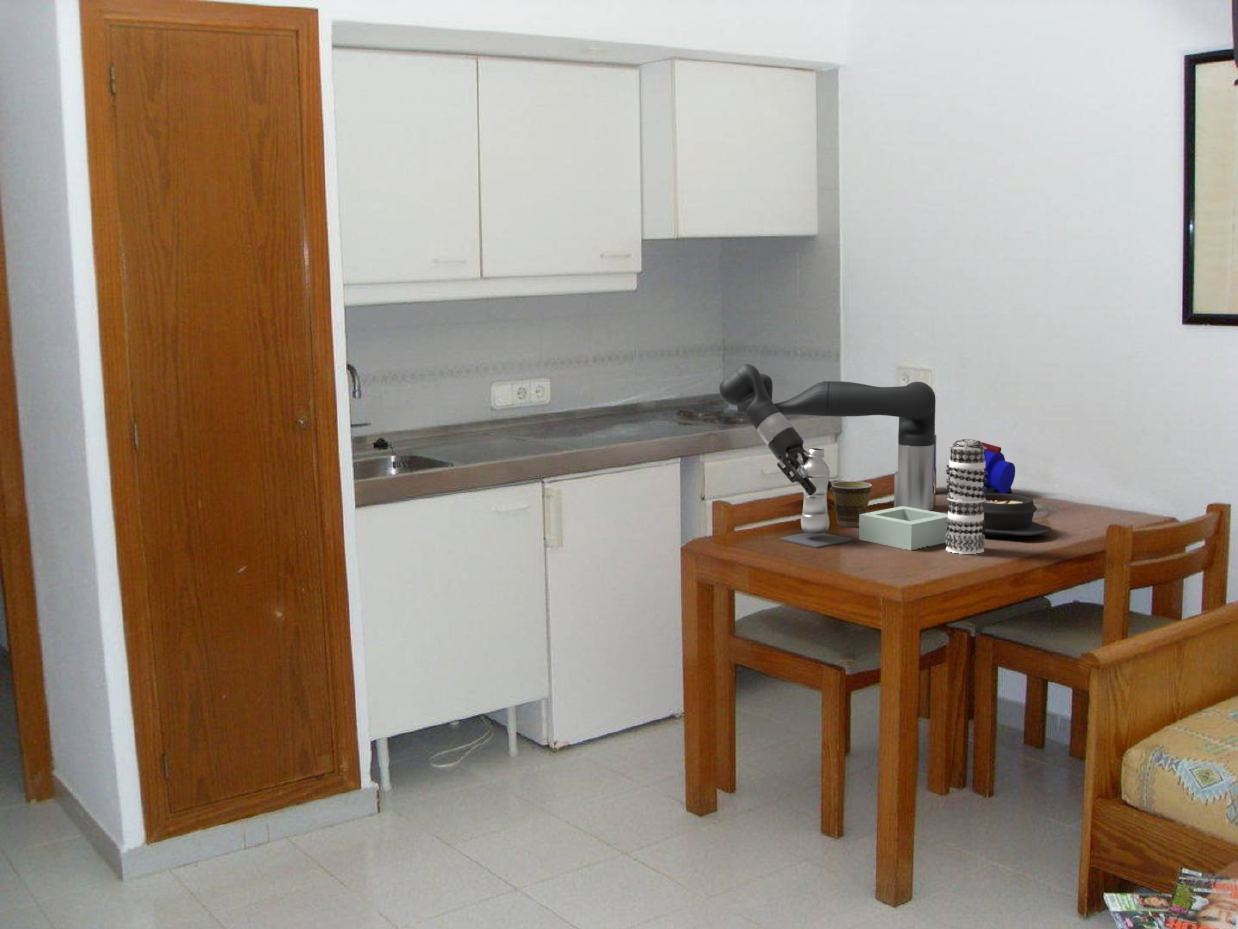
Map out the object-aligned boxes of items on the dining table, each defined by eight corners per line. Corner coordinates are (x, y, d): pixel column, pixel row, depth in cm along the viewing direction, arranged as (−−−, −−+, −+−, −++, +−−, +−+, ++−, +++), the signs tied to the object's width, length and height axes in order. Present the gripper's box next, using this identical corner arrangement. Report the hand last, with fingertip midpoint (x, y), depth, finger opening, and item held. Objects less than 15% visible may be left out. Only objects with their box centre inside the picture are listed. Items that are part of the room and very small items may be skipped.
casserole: (932, 530, 315) (932, 496, 313) (978, 519, 326) (979, 486, 325) (1021, 547, 296) (1023, 510, 294) (1067, 535, 307) (1068, 500, 306)
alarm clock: (978, 490, 367) (980, 437, 364) (1019, 495, 359) (1021, 441, 356) (957, 496, 358) (958, 442, 356) (998, 501, 350) (1000, 446, 347)
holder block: (859, 539, 305) (859, 514, 304) (902, 530, 315) (902, 506, 314) (911, 550, 293) (911, 524, 292) (954, 540, 303) (955, 515, 302)
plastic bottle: (830, 536, 302) (832, 451, 299) (801, 536, 302) (802, 451, 299) (827, 530, 308) (829, 447, 305) (799, 530, 309) (800, 446, 305)
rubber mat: (778, 539, 306) (778, 538, 306) (814, 532, 314) (814, 531, 314) (816, 548, 297) (816, 546, 297) (851, 540, 304) (851, 539, 304)
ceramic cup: (869, 520, 327) (870, 481, 326) (873, 528, 317) (873, 488, 316) (817, 520, 329) (817, 481, 327) (819, 528, 319) (819, 488, 317)
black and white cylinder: (935, 550, 293) (938, 440, 289) (959, 544, 299) (962, 436, 295) (970, 557, 286) (973, 444, 282) (993, 550, 292) (997, 440, 288)
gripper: (788, 442, 316) (828, 496, 310) (752, 449, 305) (794, 505, 299) (806, 422, 311) (848, 476, 305) (771, 429, 301) (814, 485, 295)
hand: (821, 490), depth 302 cm, fingers closed on plastic bottle, 6 cm apart
